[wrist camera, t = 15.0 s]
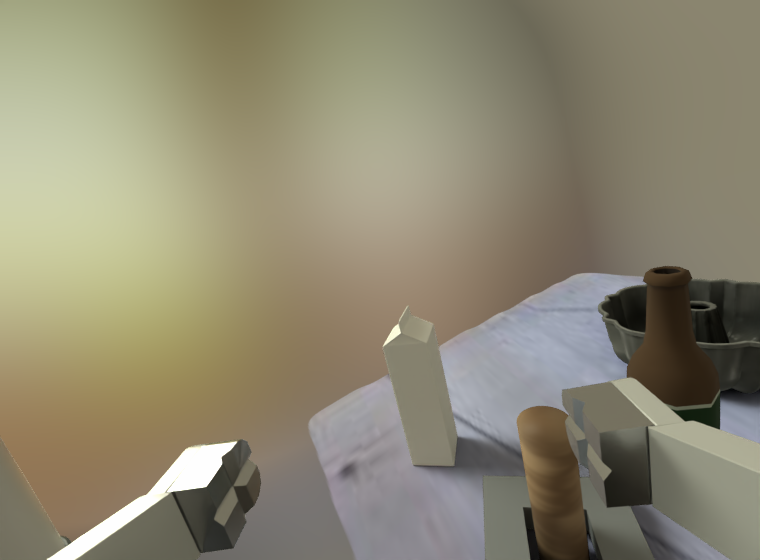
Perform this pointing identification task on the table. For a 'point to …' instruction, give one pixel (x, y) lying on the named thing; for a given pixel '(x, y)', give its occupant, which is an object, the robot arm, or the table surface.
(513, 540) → the socket block
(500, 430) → the table surface
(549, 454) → the dowel
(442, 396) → the milk
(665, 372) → the beer bottle
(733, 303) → the bundt pan
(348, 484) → the table surface
